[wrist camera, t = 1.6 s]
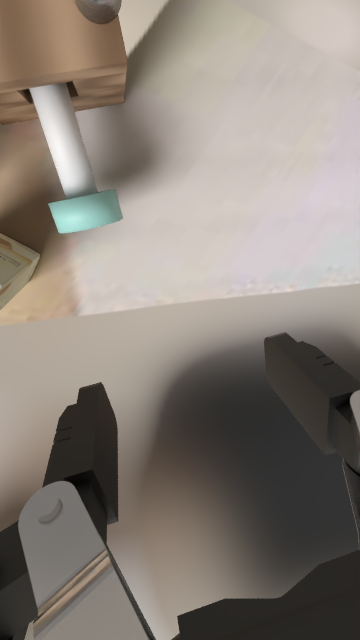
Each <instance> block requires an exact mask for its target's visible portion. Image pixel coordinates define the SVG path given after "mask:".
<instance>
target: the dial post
mask: <svg viewBox="0 0 360 640" xmlns="http://www.w3.org/2000/svg"><path fill="white" fill-rule="evenodd" d="M74 1H75V4H76V6H77V8H78V9H79V11H80V12H81V13H82V15H83V16H84V17H85V18H87V19H88V20H89V21H91V22H93V23H95V24H100V25H103V24H107V23H110V22H111V21H113V20H114V19H115V17H116V16H117V15H118V13H119V10H120V7H121V0H74Z"/></svg>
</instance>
